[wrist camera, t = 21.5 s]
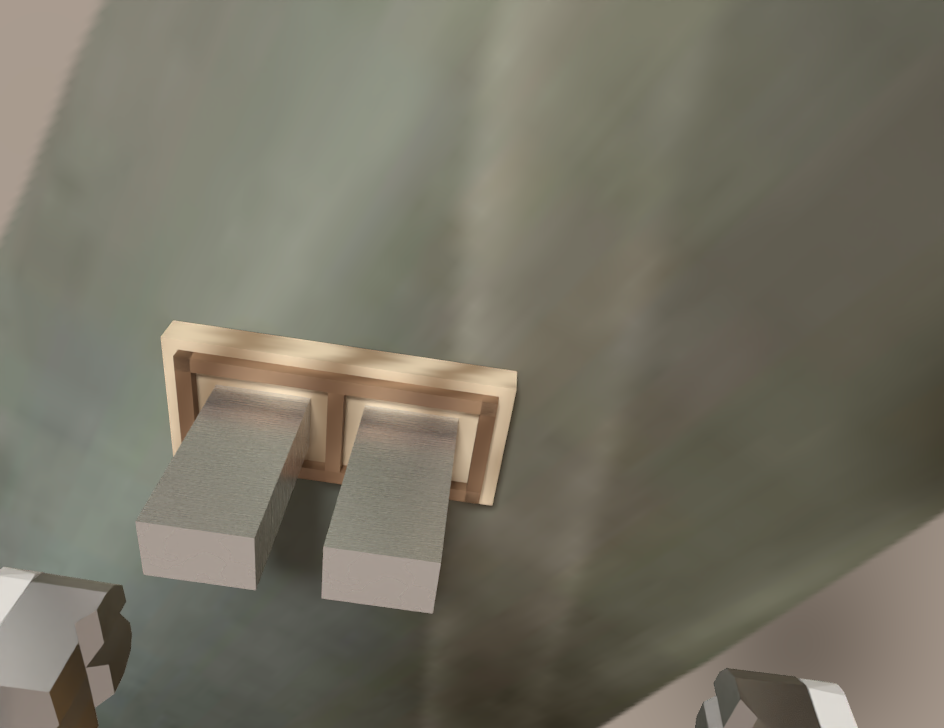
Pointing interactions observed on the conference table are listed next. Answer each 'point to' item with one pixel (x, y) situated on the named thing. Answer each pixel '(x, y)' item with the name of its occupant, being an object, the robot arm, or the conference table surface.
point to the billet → (226, 489)
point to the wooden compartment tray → (344, 395)
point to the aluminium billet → (391, 511)
